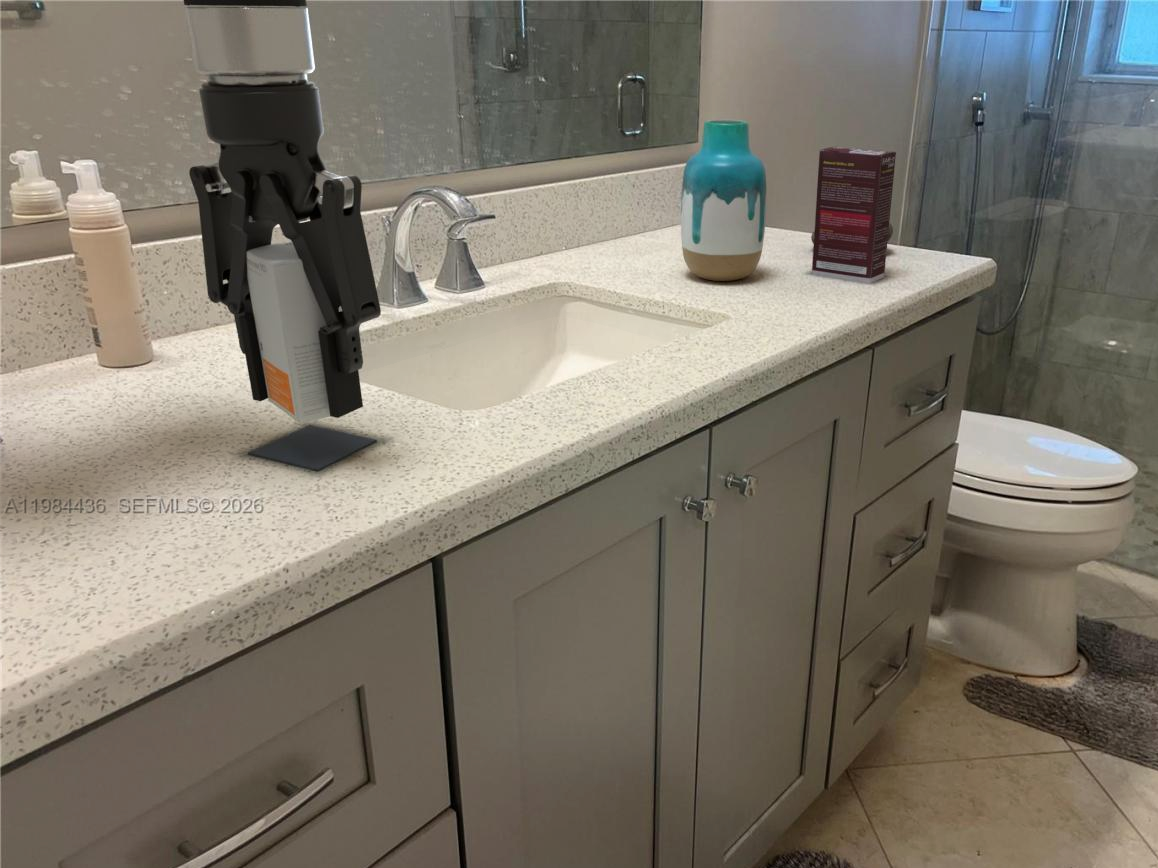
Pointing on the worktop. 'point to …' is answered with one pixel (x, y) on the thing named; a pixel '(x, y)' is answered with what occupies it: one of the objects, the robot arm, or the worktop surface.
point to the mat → (312, 448)
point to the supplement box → (852, 213)
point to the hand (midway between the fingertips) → (307, 402)
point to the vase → (723, 204)
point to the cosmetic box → (288, 331)
